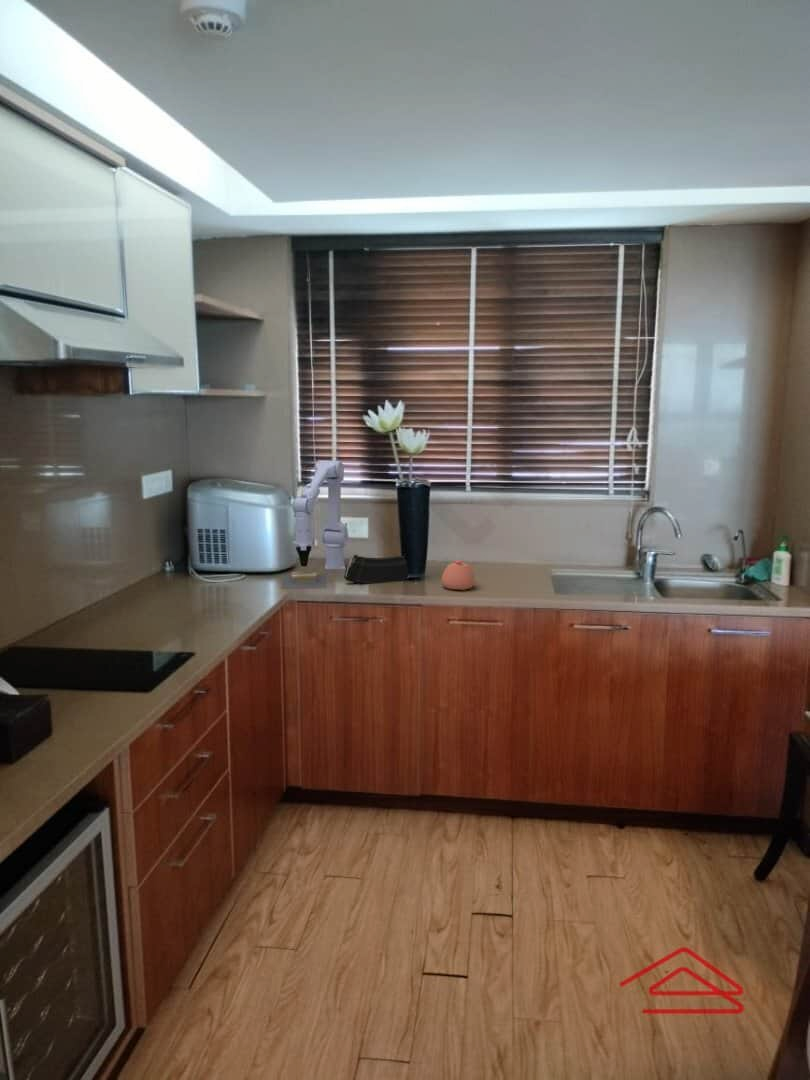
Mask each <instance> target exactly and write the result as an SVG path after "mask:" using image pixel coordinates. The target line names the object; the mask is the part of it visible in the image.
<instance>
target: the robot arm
mask: <svg viewBox="0 0 810 1080" xmlns="http://www.w3.org/2000/svg"><path fill="white" fill-rule="evenodd" d="M314 471H315V473H314V475H313V478H312V479H311V482H309V483H308V484H306V485H305V486H304V488H303V490H302V492H301V493H300V495H299V496H297V497H296V498H294V499H293V501H292V511H293V517H294V518H295V540H294V541H292V544H293V545H297V546H295V550H296V552H297V554H298V559H299V563H300V566H301V567H308V561H309V557H310V553H311V551H312V544H313V541H312V513H314V509H315V505H316V500H317V499H318V497H319V495H320V493H321V490H320V487H321V486H322V485H323V484H324V483H325V481H326V483H327V487H328V488H327V491H328V492H327V495H328V496H327V523H325V524H324V525H323V526H322V528H321V529H322V531H321V534H320V535H321V537H320V538H321V542H322V544H323V546H324V547H325V563H324V568H325V569H324V570H346V565H345V546H346V545H347V544H348V542H349V533H348V526H347V525H345V524H344V523H343V522H342V520H341V519H342V518H341V517H342V516H341V503H342V501H341V500H342V496H341V495H342V494H341V493H342V491H341V490H342V481H344V480H345V479H344V478H345V465H344V464H343V463H342V460H326V459H325V460H323V459H322V460H321V459H318V460H317V461H316V463H315V465H314Z"/></svg>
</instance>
